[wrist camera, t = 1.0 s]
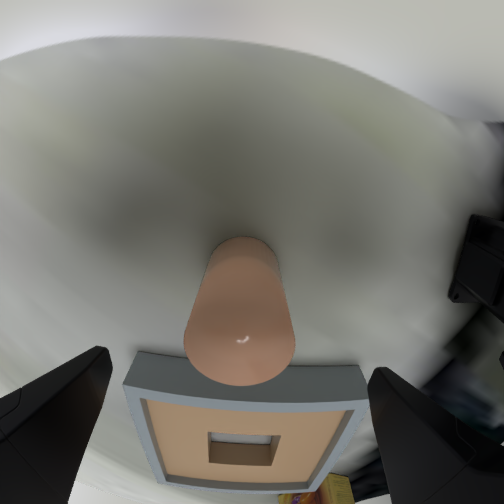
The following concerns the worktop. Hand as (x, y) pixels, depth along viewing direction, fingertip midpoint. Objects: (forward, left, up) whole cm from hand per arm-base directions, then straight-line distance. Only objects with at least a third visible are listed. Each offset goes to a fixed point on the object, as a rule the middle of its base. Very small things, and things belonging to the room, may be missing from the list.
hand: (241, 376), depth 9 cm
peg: (0, 0, -9) cm, 9 cm away
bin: (-1, +15, -9) cm, 17 cm away
